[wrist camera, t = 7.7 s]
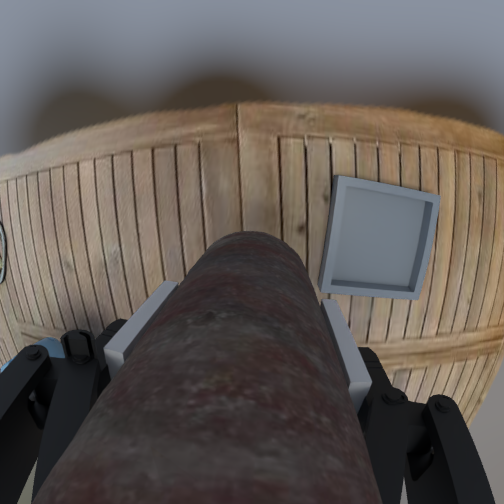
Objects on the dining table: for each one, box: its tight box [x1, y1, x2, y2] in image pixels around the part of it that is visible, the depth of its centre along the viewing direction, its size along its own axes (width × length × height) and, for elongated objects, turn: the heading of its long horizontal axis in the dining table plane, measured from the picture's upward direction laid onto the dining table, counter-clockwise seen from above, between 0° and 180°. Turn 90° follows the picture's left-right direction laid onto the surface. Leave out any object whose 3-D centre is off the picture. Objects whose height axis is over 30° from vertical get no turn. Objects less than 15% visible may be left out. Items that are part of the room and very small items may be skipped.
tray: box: [318, 175, 441, 300], centre depth 39 cm, size 16×16×3 cm
